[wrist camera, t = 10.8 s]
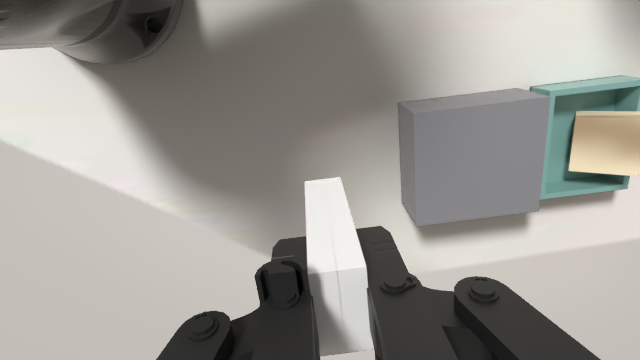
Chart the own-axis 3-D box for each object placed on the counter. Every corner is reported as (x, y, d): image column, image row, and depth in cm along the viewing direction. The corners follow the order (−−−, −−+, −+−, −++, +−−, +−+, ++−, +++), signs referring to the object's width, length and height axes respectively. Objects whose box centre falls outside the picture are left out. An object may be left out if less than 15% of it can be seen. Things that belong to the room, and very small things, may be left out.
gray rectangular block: (398, 102, 41) (413, 113, 35) (516, 88, 41) (550, 96, 36) (401, 202, 45) (416, 226, 40) (509, 189, 45) (538, 211, 40)
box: (530, 86, 41) (550, 90, 38) (621, 75, 41) (648, 78, 38) (521, 187, 45) (538, 199, 42) (603, 177, 46) (627, 188, 42)
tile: (650, 118, 36) (646, 111, 39) (575, 117, 40) (575, 110, 42) (638, 176, 39) (635, 166, 41) (568, 170, 42) (568, 162, 44)
